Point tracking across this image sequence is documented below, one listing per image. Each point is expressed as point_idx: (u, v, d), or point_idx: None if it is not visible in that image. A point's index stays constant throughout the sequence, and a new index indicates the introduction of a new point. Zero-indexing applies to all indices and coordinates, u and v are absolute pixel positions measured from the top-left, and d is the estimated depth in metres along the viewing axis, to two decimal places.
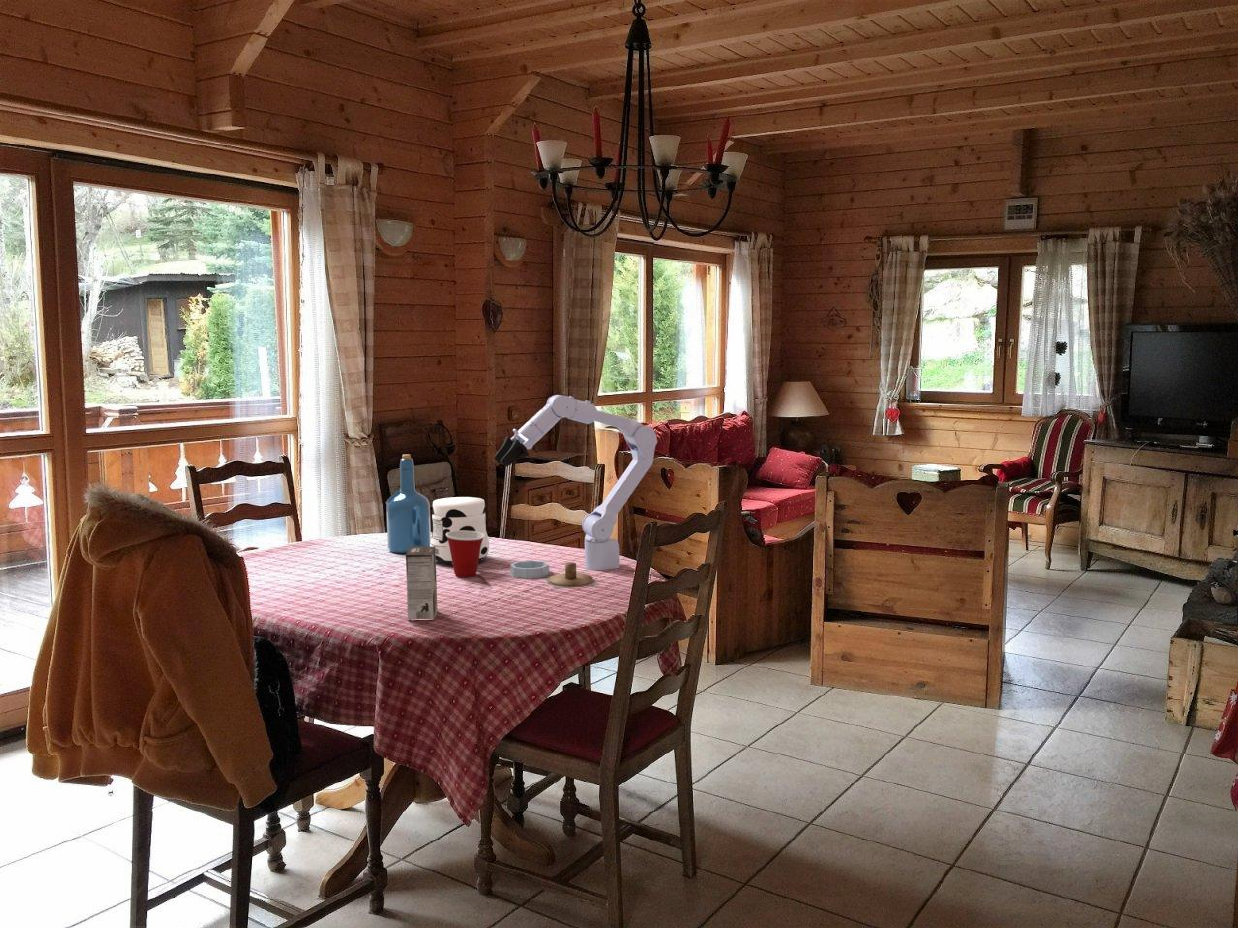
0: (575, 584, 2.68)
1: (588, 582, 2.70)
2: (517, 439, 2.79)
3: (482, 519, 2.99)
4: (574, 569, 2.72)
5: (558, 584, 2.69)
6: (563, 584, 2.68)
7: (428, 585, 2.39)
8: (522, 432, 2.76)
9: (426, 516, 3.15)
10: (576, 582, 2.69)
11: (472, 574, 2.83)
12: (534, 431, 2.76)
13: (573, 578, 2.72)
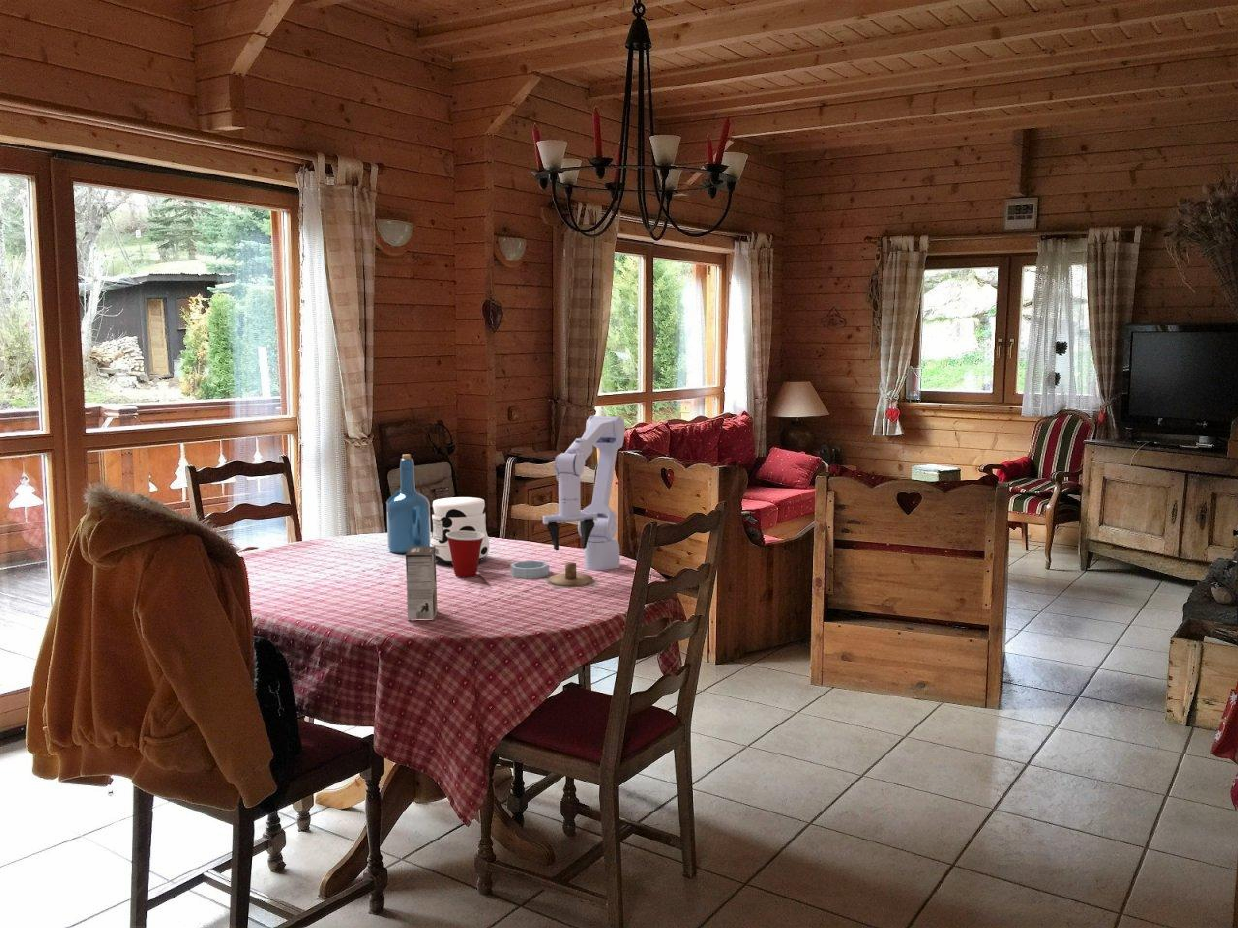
0: (575, 584, 2.68)
1: (588, 582, 2.70)
2: (564, 520, 2.70)
3: (482, 519, 2.99)
4: (574, 569, 2.72)
5: (558, 584, 2.69)
6: (563, 584, 2.68)
7: (428, 585, 2.39)
8: (578, 513, 2.70)
9: (426, 516, 3.15)
10: (576, 582, 2.69)
11: (472, 574, 2.83)
12: None
13: (573, 578, 2.72)
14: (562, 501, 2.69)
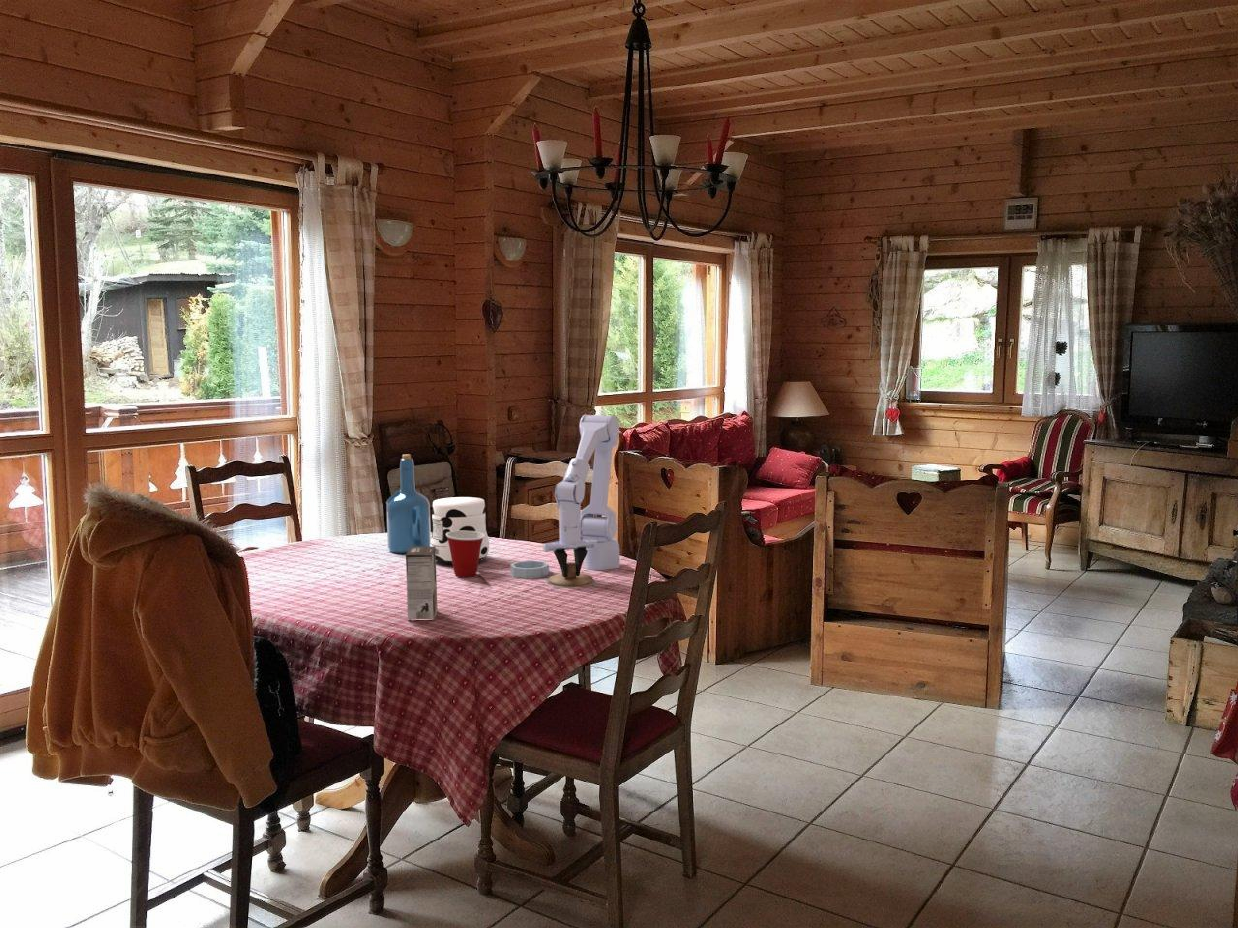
0: (575, 584, 2.68)
1: (588, 582, 2.70)
2: (564, 547, 2.71)
3: (482, 519, 2.99)
4: (574, 569, 2.72)
5: (558, 584, 2.69)
6: (563, 584, 2.68)
7: (428, 585, 2.39)
8: (579, 540, 2.71)
9: (426, 516, 3.15)
10: (576, 582, 2.69)
11: (472, 574, 2.83)
12: None
13: (573, 578, 2.72)
14: (562, 529, 2.69)
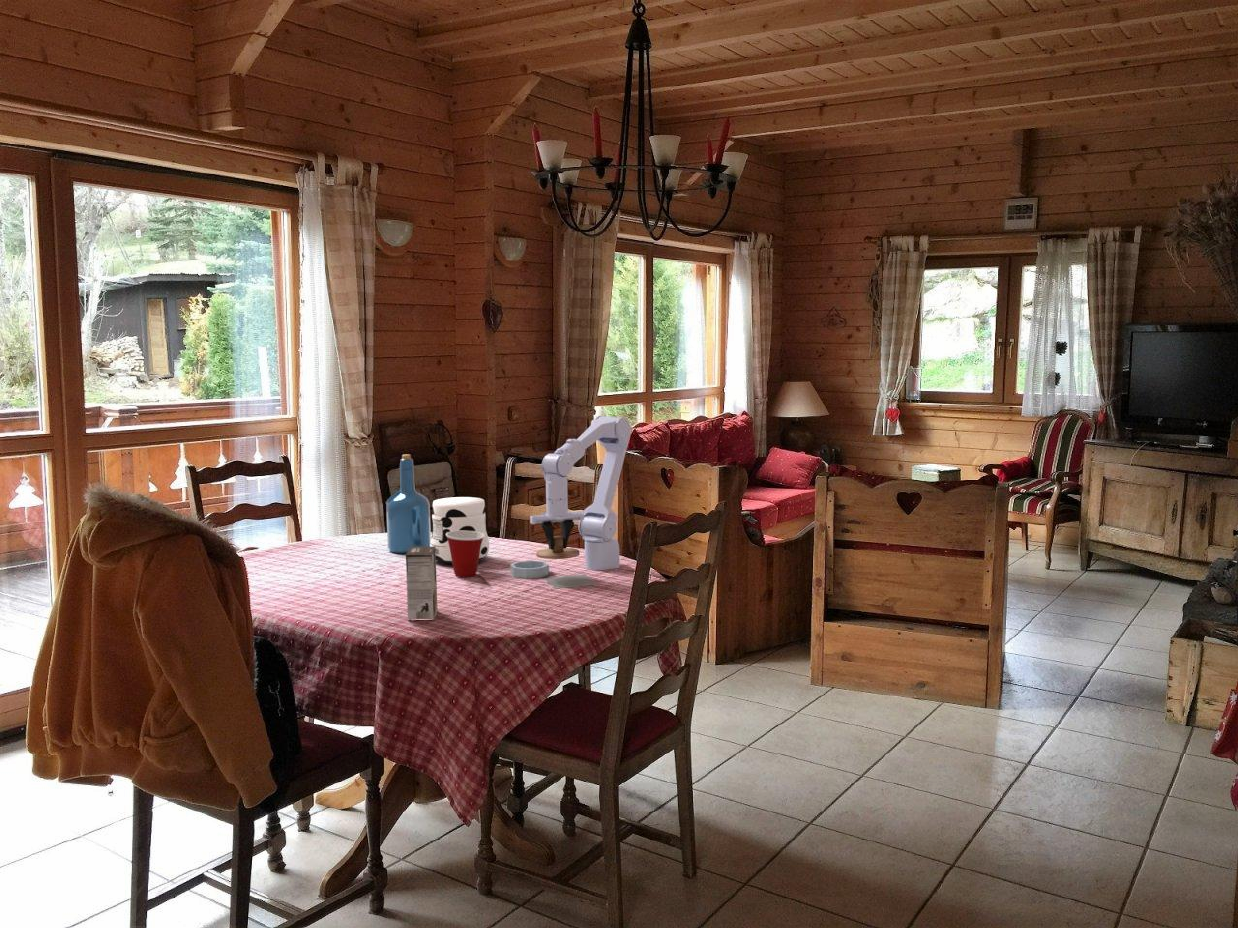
0: (563, 556, 2.70)
1: (575, 555, 2.72)
2: (551, 520, 2.73)
3: (482, 519, 2.99)
4: (561, 542, 2.74)
5: (546, 557, 2.70)
6: (551, 557, 2.70)
7: (428, 585, 2.39)
8: (566, 513, 2.73)
9: (426, 516, 3.15)
10: (563, 555, 2.70)
11: (472, 574, 2.83)
12: None
13: (560, 551, 2.74)
14: (549, 501, 2.71)
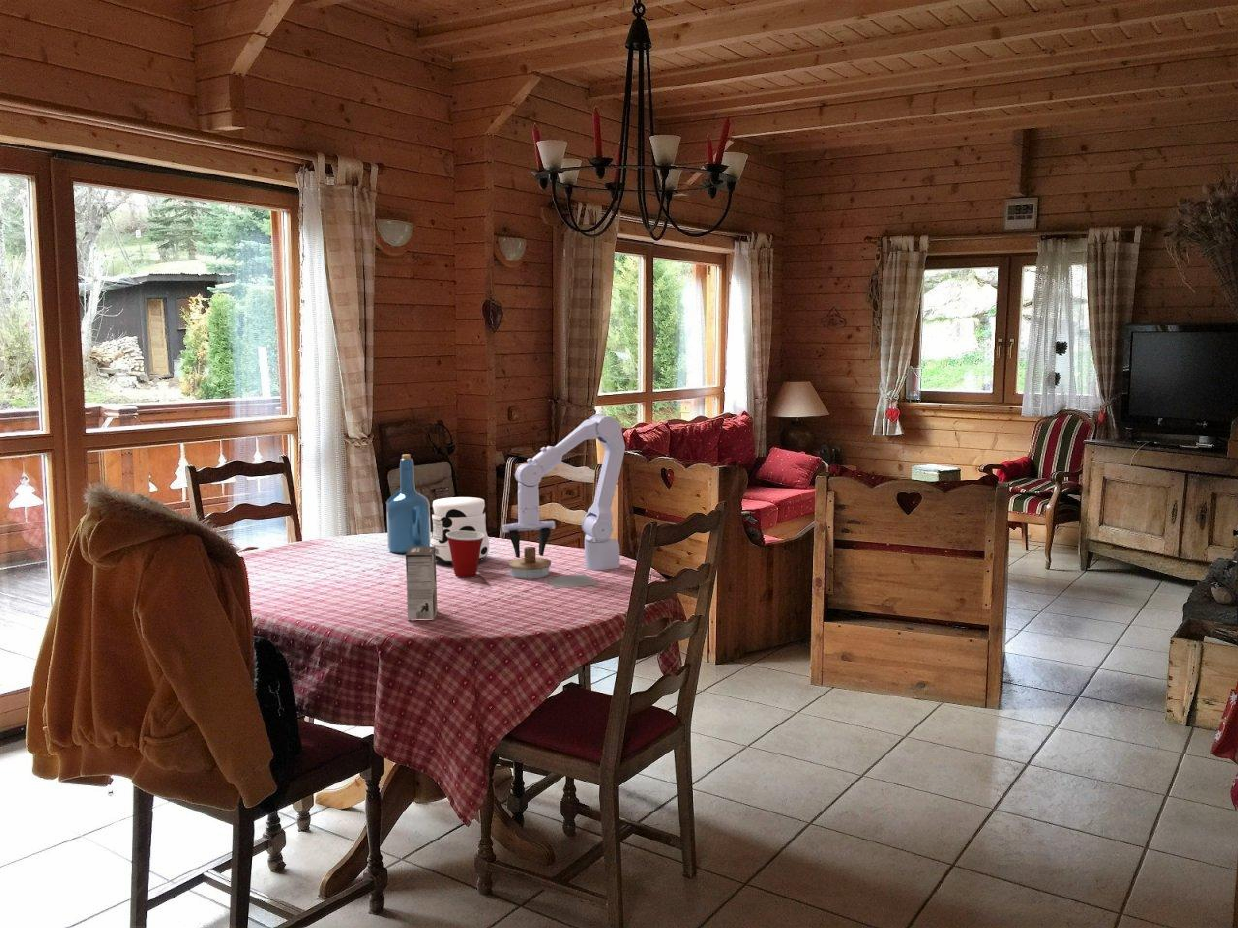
0: (535, 567, 2.76)
1: (547, 565, 2.79)
2: None
3: (482, 519, 2.99)
4: (533, 553, 2.80)
5: (518, 568, 2.77)
6: (523, 567, 2.76)
7: (428, 585, 2.39)
8: (537, 521, 2.79)
9: (426, 516, 3.15)
10: (535, 566, 2.77)
11: (472, 574, 2.83)
12: None
13: (532, 562, 2.80)
14: (521, 510, 2.78)
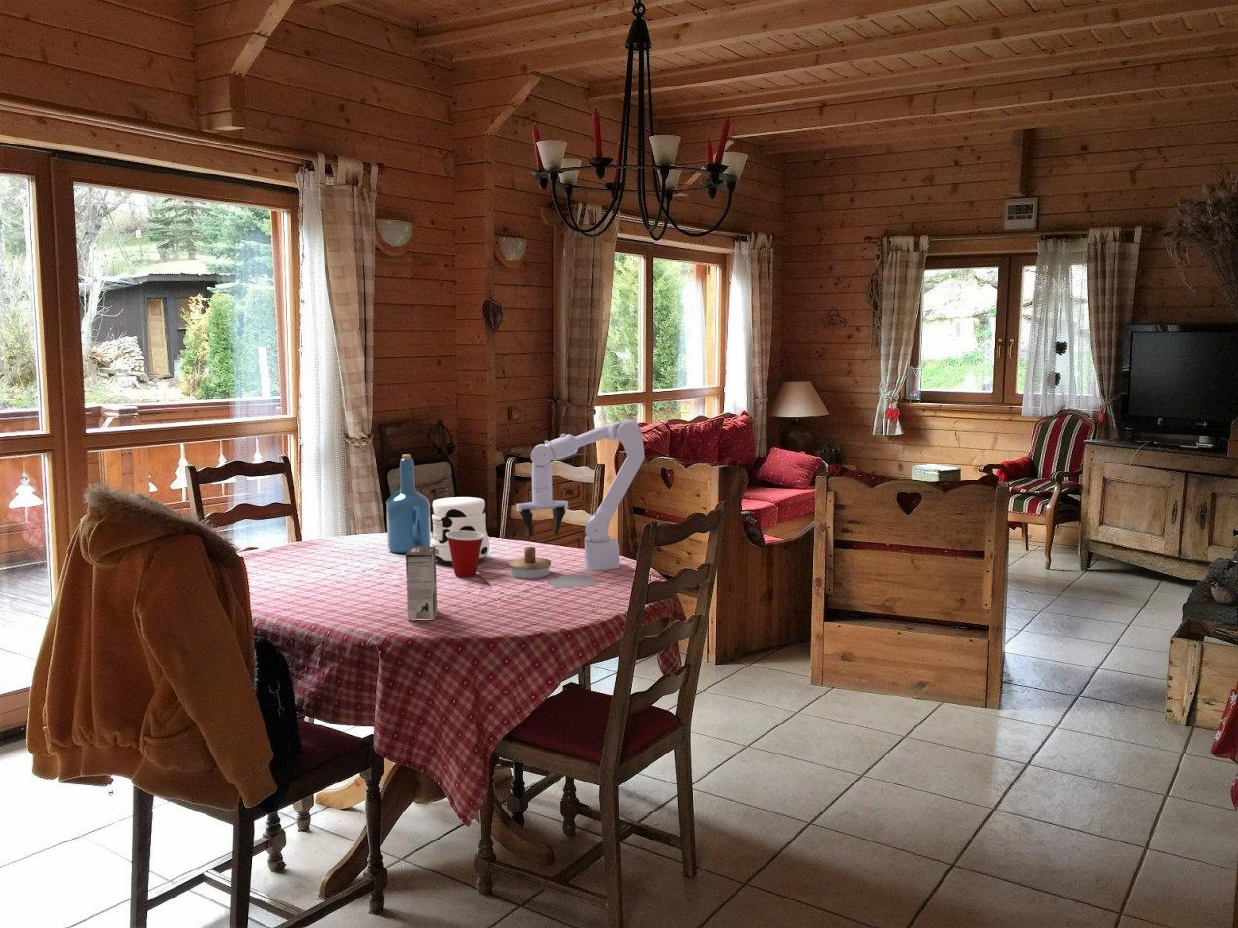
0: (535, 567, 2.76)
1: (547, 565, 2.79)
2: (536, 507, 2.86)
3: (482, 519, 2.99)
4: (533, 553, 2.80)
5: (518, 568, 2.77)
6: (523, 567, 2.76)
7: (428, 585, 2.39)
8: (550, 501, 2.86)
9: (426, 516, 3.15)
10: (535, 566, 2.77)
11: (472, 574, 2.83)
12: None
13: (532, 562, 2.80)
14: (535, 490, 2.85)
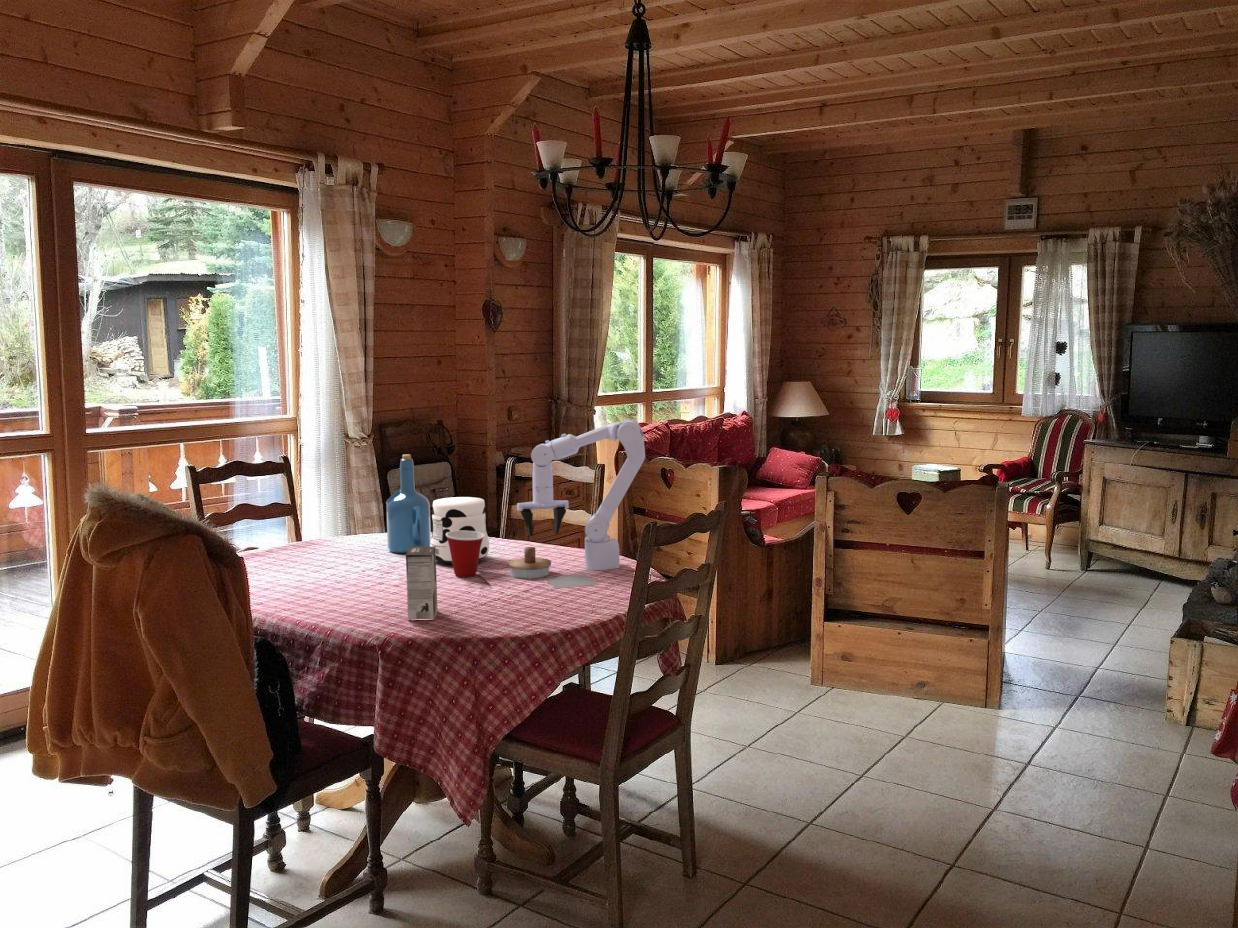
0: (535, 567, 2.76)
1: (547, 565, 2.79)
2: (537, 507, 2.87)
3: (482, 519, 2.99)
4: (533, 553, 2.80)
5: (518, 568, 2.77)
6: (523, 567, 2.76)
7: (428, 585, 2.39)
8: (551, 500, 2.87)
9: (426, 516, 3.15)
10: (535, 566, 2.77)
11: (472, 574, 2.83)
12: None
13: (532, 562, 2.80)
14: (535, 489, 2.86)
